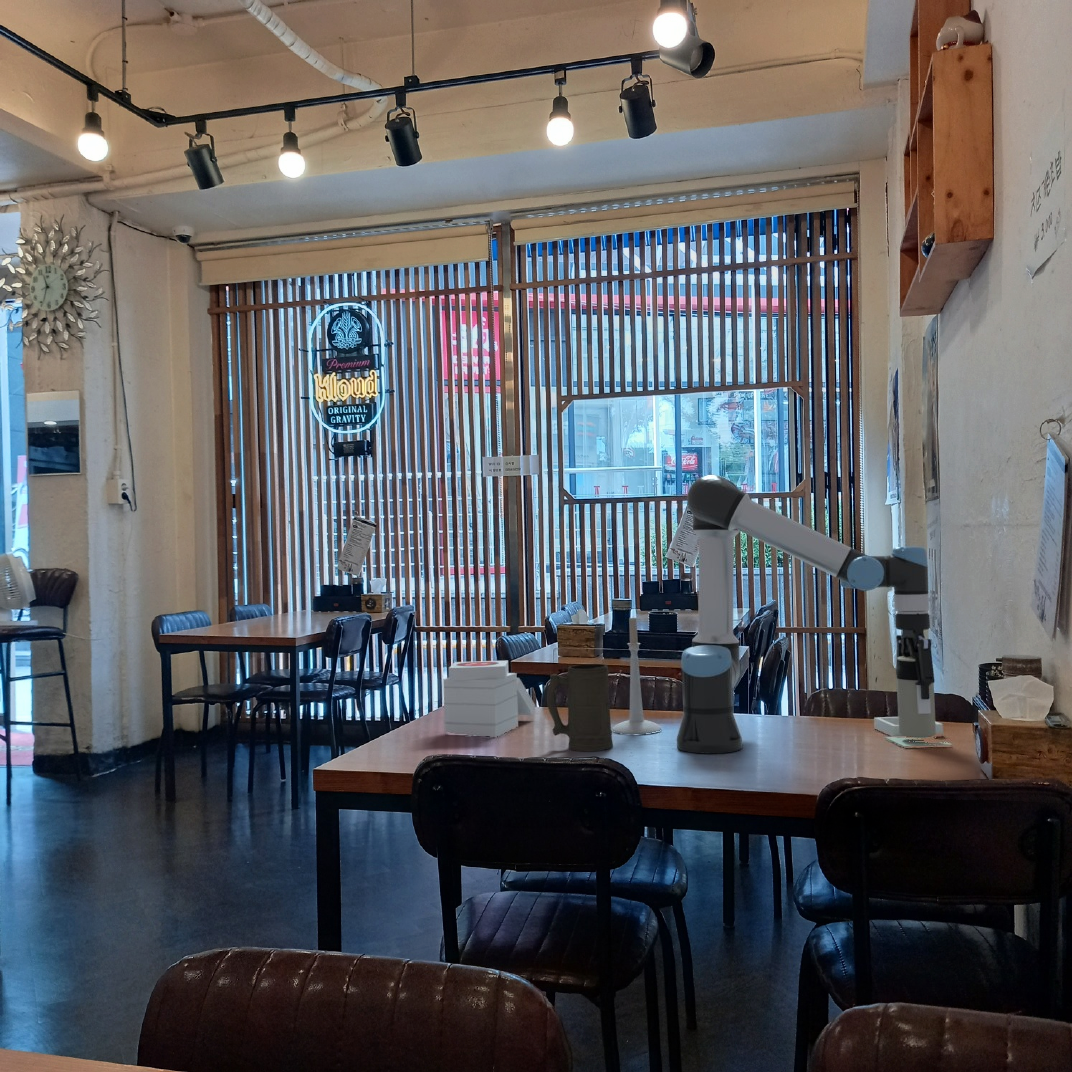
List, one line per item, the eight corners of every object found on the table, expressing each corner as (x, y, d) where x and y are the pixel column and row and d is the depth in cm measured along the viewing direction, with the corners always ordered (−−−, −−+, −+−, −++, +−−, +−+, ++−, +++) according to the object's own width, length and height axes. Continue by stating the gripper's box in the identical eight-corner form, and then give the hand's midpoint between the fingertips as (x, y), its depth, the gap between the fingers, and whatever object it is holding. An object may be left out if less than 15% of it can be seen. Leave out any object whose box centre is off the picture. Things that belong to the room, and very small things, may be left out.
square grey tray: (893, 738, 221) (893, 725, 221) (874, 729, 233) (874, 717, 233) (943, 736, 221) (942, 724, 222) (921, 727, 233) (921, 715, 234)
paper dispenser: (542, 719, 264) (540, 656, 264) (499, 739, 236) (497, 668, 237) (481, 717, 271) (479, 655, 271) (432, 736, 243) (431, 667, 244)
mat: (904, 748, 209) (904, 746, 209) (885, 739, 220) (885, 737, 220) (952, 747, 209) (952, 744, 209) (930, 738, 220) (930, 735, 220)
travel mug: (930, 739, 209) (927, 659, 210) (894, 736, 214) (891, 658, 215) (939, 733, 216) (936, 656, 216) (904, 730, 220) (901, 655, 221)
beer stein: (609, 741, 229) (601, 660, 229) (621, 749, 218) (612, 665, 218) (549, 749, 226) (541, 668, 226) (557, 758, 215) (549, 672, 216)
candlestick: (660, 726, 248) (656, 614, 249) (662, 734, 235) (658, 617, 236) (612, 726, 249) (609, 615, 250) (611, 735, 236) (607, 618, 237)
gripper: (948, 614, 205) (952, 717, 205) (909, 609, 226) (913, 703, 225) (915, 615, 205) (919, 718, 205) (878, 610, 226) (882, 704, 225)
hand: (916, 710), depth 215 cm, fingers closed on travel mug, 8 cm apart
